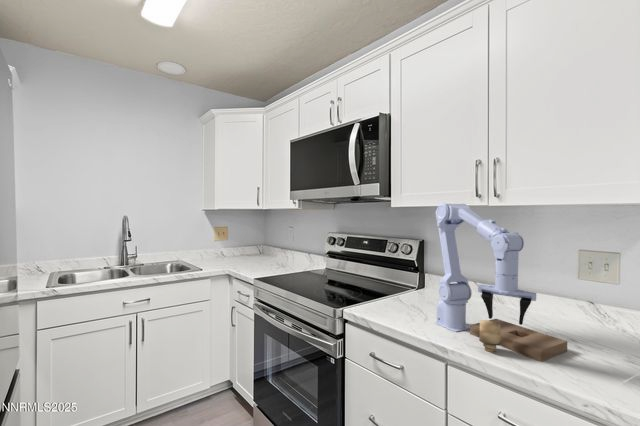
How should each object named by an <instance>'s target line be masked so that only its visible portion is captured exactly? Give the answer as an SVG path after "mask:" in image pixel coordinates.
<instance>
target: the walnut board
mask: <svg viewBox="0 0 640 426" xmlns="http://www.w3.org/2000/svg"><path fill="white" fill-rule="evenodd" d="M489 321H494V322H497V323H499V324H500V345H499V346H501V347H502V348H505V349H507V350H510V351H512V352H516V353H518V354H521V355H524V356H525V357H528V358H531V359H534V360H536V361H538V362H543V361H547V360H548V359H551V358H554V357H556V356H559V355H561V354H564V353H566V352H568V341H567V340H565V339H561V338H557V337H555V336H553V335H549V334H546V333H543V332H540V331H536V330H533V329H529V328H527V327H523V326H522V325H517V324H513V323H511V322H508V321H505V320H502V319H498V318H493V319H489ZM469 326H470V329H469V335H473V336H475V337H478V338H480V322H477V323H472V324H470V325H469Z"/></svg>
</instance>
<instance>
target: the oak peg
mask: <svg viewBox="0 0 640 426" xmlns="http://www.w3.org/2000/svg"><path fill="white" fill-rule="evenodd" d="M489 320H490V319H489ZM489 320H488V319H486V320H483V319H482V320H480V321H479V323H480V338H479V337H478V338H479V339H478V340H479V342H480V343H482V346H483V347H484V351H486V352H489V353H494V352H495V349H496V348H497V346H500V324H499V323H497V322H494V321H489Z"/></svg>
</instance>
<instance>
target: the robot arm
mask: <svg viewBox="0 0 640 426" xmlns="http://www.w3.org/2000/svg"><path fill="white" fill-rule="evenodd" d="M435 218H436V224H437V228H438V234H439V243H440V249H441V255H442V262H443V270H444V275H443V277H441V278H440V279H439V281H438V282H439V288H438V295H439V297H440V299H439V301H438V302H437V304H436V321H434V324H435V325H438V326H440V327H443V328H445V329H448V330H450V331H452V332H455V333H458V332H459V333H460V332H463V331H466V330H470V325H467V316H466V314H467V304H468V303H469V300H470V299H471V298H472V293H473V292H472V289H471V286H470V284H469V279H468V278H467V277H466V276H465V275H463V274H462V271H461V265H460V259H459V258H460V257H459V252H458V251H459V250H458V246H457V239H456V232H455V230H456V229H457V228H458V227H460V226H461V225H462V224H463V223H465V222H466V223H467V224H469V225H470V226H471V227H474V228H475V229H476V233H477V234H478V235H479V236H480V237H482V238H483V239H484V240H485V241H487V242H488V243H489V244H490V245H491V246H490V247H491V249H492V250H493V256H494V259H495V271H494V272H495V273H494V285H486V284H485V285H483V284H478V286H477V293H481V295H480V296H481V298H482V300H483V303H484V305H485V307H486V311H487V314H488V315H487V316H488V319H489V320H492V318H493V316H494V315H493V314H494V312H493V309H494V308H493V302H494V301H493V300H494V295H498V296H504V297H509V298H510V297H512V298H517V299H520V300H519V320H518V324H519V326H522V325H523V323H524V318H525V314H526V313H527V310H528V308H529V307H530V305H531V303H532V302H536V301H537V292H535V291H529V290H523V289H519V286H518V285H519V255H520V253H519V252H521V251H522V250H523V249H524V245H525V241H524V238H523V236H522V235H521V234H520V233H519V232H516V231H513V232H512V231H511V232H510V231H508V229H507V228H506V227H503V226H501V225H500V224H498V223H497V221H496V220H494V219H484V218H482V217H481V216H479V214H477V213H476V212H474V211H473V210H472V209H471V206H470V205H467V204H466V203H463V202H462V203H445V202H443V203H440V204H438V206H437V208H436V210H435Z"/></svg>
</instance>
